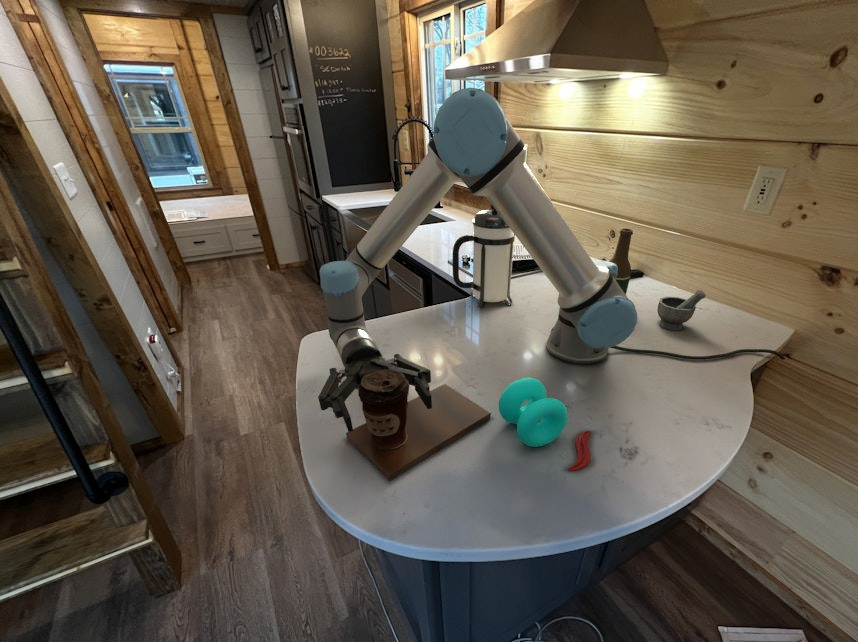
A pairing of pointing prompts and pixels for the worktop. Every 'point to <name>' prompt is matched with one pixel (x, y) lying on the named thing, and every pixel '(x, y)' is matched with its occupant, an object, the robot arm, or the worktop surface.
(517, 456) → the worktop surface
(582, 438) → the cayenne pepper
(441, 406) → the walnut board
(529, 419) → the donuts
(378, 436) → the coffee cup
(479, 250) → the coffee press
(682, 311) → the mortar and pestle
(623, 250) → the beer bottle
